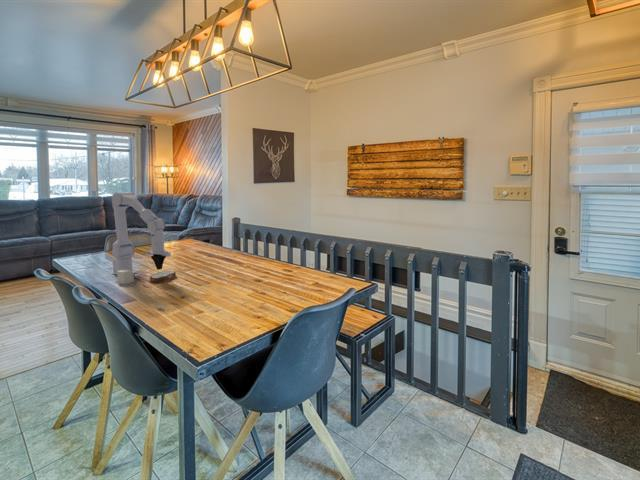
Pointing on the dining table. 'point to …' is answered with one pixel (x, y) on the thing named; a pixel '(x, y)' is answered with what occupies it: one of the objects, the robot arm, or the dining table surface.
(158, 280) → the tin
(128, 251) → the robot arm
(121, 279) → the grey block
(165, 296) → the dining table surface
